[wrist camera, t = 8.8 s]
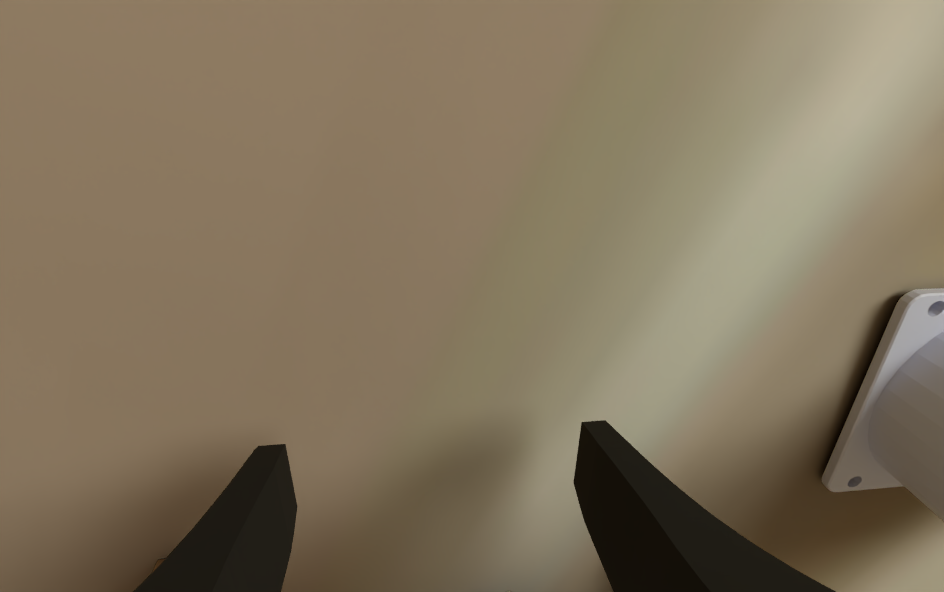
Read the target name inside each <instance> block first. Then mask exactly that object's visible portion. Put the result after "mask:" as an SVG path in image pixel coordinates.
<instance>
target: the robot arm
mask: <svg viewBox="0 0 944 592" xmlns="http://www.w3.org/2000/svg"><path fill="white" fill-rule="evenodd" d="M822 483H823V484H824V485H825V486H826V487H827V489H828V490H830V491H831V492H846V491H857V490H868V489H880V488H891V487H902V486H904V487H905V488H907V489H908V490H909V491H910V492H911V493H912V494H913V495H914V496H916V497H917V498H918V499H919V500H920V501H921V502H922V503H923V504H924V505H926V506H927V507H928V508H929V509H930V510H931V511H932V512H933V513H935V514H936V515H937V516H938V517H939V518H940V519H941V520H942V521H944V288H936V289H916V290H912V291H910V292H908V293H906V294H904V295H903V296H902V297H901V298H900V299H899V301H898V302H897V304H896V306H895V309H894V311H893V313H892V316H891V318H890V320H889V323H888V325H887V327H886V330H885V332H884V334H883V337H882V339H881V341H880V343H879V346H878V348H877V350H876V353H875V355H874V357H873V360H872V362H871V364H870V367H869V369H868V371H867V374H866V376H865V378H864V381H863V383H862V385H861V388H860V390H859V392H858V394H857V397H856V399H855V401H854V404H853V406H852V408H851V411H850V413H849V415H848V418H847V420H846V422H845V425H844V427H843V429H842V432H841V434H840V436H839V439H838V441H837V443H836V446H835V448H834V450H833V452H832V455H831V457H830V459H829V462H828V464H827V466H826V469H825V471H824V473H823V476H822ZM574 486H575V489H576V493H577V497H578V501H579V504H580V508H581V511H582V514H583V518H584V521H585V524H586V526H587V529H588V531H589V534H590V536H591V539H592V541H593V543H594V546H595V548H596V551H597V553H598V556H599V558H600V560H601V563H602V565H603V567H604V570H605V572H606V575H607V577H608V579H609V582H610V584H611V586H612V589H613V591H614V592H835V591H834V590H832V589H830V588H828V587H826V586H824V585H822V584H820V583H819V582H817V581H815V580H813V579H811V578H809V577H808V576H806V575H804V574H802V573H801V572H799V571H797V570H795V569H794V568H792V567H790V566H789V565H787V564H785V563H784V562H782V561H780V560H779V559H777V558H776V557H774V556H772V555H771V554H769V553H767V552H766V551H764V550H762V549H761V548H759V547H758V546H756V545H755V544H753V543H752V542H750V541H749V540H747V539H746V538H744V537H743V536H741V535H740V534H739V533H737V532H736V531H734V530H733V529H731V528H730V527H729V526H727V525H726V524H724V523H723V522H721V521H720V520H719V519H717V518H716V517H715V516H713V515H712V514H711V513H709V512H708V511H707V510H705V509H704V508H703V507H702V506H700V505H699V504H698V503H697V502H695V501H694V500H693V499H692V498H690V497H689V496H688V495H687V494H685V493H684V492H683V491H682V490H680V489H679V488H678V487H677V486H676V485H675V484H673V483H672V482H671V481H670V480H669V479H668V478H667V477H665V476H664V475H663V474H662V473H661V472H660V471H659V470H658V469H656V468H655V467H654V466H653V465H652V464H651V463H650V462H649V461H648V460H647V459H645V458H644V457H643V456H642V455H641V454H640V453H639V452H638V451H637V450H636V449H635V448H634V447H633V446H632V445H631V444H630V443H629V442H627V441H626V440H625V439H624V438H623V437H622V436H621V435H620V434H619V433H618V432H617V431H616V430H615V429H614V428H613V427H612V426H611V425H610V424H609V423H607V422H606V421H591V422H582V425H581V432H580V439H579V447H578V454H577V461H576V469H575V476H574ZM296 512H297V503H296V498H295V493H294V487H293V482H292V477H291V471H290V466H289V461H288V456H287V450H286V445H285V444H280V445H267V446H258V447H257V448H256V449H255V450H254V451H253V453H252V454H251V455H250V457H249V458H248V459H247V461H246V462H245V463H244V465H243V466H242V467H241V469H240V470H239V471H238V473H237V474H236V475H235V477H234V478H233V479H232V481H231V482H230V483H229V485H228V486H227V487H226V488H225V490H224V491H223V492H222V494H221V495H220V496H219V497H218V498H217V500H216V501H215V502H214V503H213V505H212V506H211V507H210V508H209V510H208V511H207V512H206V513H205V514H204V516H203V517H202V518H201V519H200V521H199V522H198V523H197V524H196V525H195V526H194V528H193V529H192V530H191V531H190V532H189V533H188V534H187V535H186V537H185V538H184V539H183V540H182V541H181V542H180V543H179V544H178V546H177V547H176V548H175V549H174V550H173V551H172V552H171V553H170V555H169V556H168V557H167V558H166V559H165V560H164V561H163V562H162V563H161V564H160V565H159V566H158V567H157V568H156V569H155V570H154V572H153V573H152V574H151V575H150V576H149V577H148V578H147V579H146V580H145V581H144V582H143V583H142V584H141V585H140V586H139V587H138V588H137V589H136V590H134V591H133V592H281V589H282V585H283V581H284V577H285V573H286V569H287V565H288V561H289V557H290V553H291V548H292V542H293V535H294V528H295V520H296Z"/></svg>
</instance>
